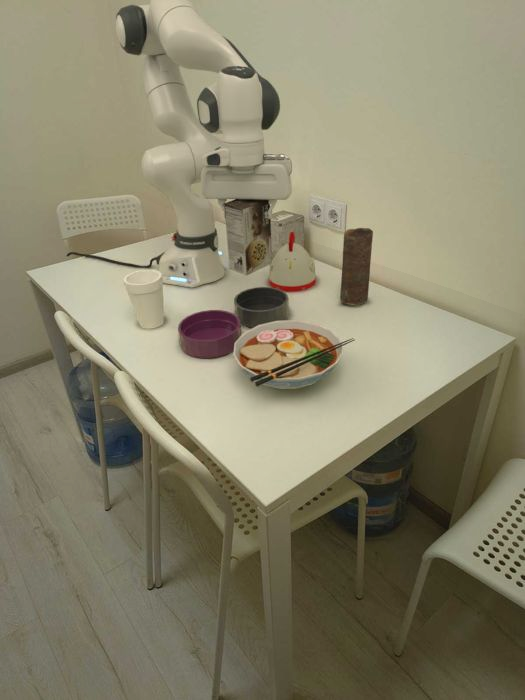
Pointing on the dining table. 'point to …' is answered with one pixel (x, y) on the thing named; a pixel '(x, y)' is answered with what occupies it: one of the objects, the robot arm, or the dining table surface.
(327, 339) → the ramen bowl
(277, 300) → the grey bowl
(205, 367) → the dining table surface
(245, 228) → the printed food box
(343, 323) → the dining table surface
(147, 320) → the foam cup
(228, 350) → the plum bowl
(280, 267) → the white chicken egg cooker
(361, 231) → the brown tall cylinder
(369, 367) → the dining table surface
